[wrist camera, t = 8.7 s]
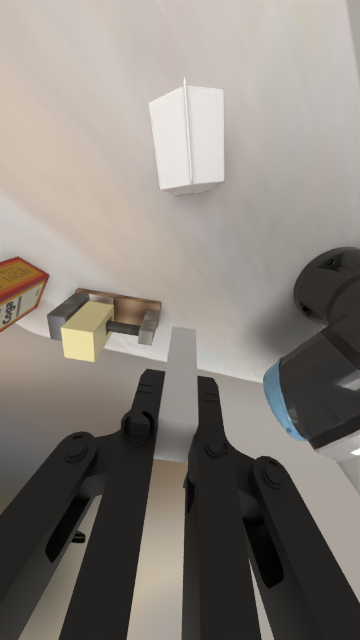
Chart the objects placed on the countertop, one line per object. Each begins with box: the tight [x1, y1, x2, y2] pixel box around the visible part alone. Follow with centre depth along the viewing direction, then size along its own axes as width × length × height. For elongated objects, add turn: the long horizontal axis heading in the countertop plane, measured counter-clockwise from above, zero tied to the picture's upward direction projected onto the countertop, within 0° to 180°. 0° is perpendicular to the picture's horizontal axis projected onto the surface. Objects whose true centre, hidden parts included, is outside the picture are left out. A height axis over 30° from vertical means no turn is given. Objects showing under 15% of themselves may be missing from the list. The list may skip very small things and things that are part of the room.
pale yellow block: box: [61, 301, 114, 362], centre depth 38 cm, size 5×6×10 cm
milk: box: [149, 77, 224, 196], centre depth 25 cm, size 6×6×22 cm
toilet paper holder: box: [47, 288, 161, 345], centre depth 42 cm, size 18×6×12 cm, turn 81°
